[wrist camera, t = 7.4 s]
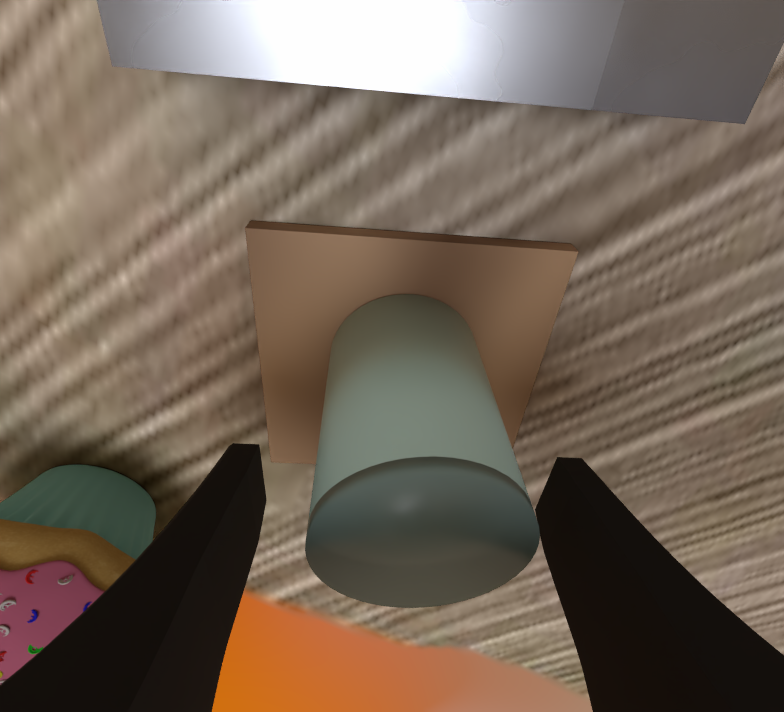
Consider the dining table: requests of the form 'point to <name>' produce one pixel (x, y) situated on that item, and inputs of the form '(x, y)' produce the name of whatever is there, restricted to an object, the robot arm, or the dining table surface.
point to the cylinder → (414, 464)
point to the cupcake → (64, 552)
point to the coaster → (385, 278)
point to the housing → (473, 48)
